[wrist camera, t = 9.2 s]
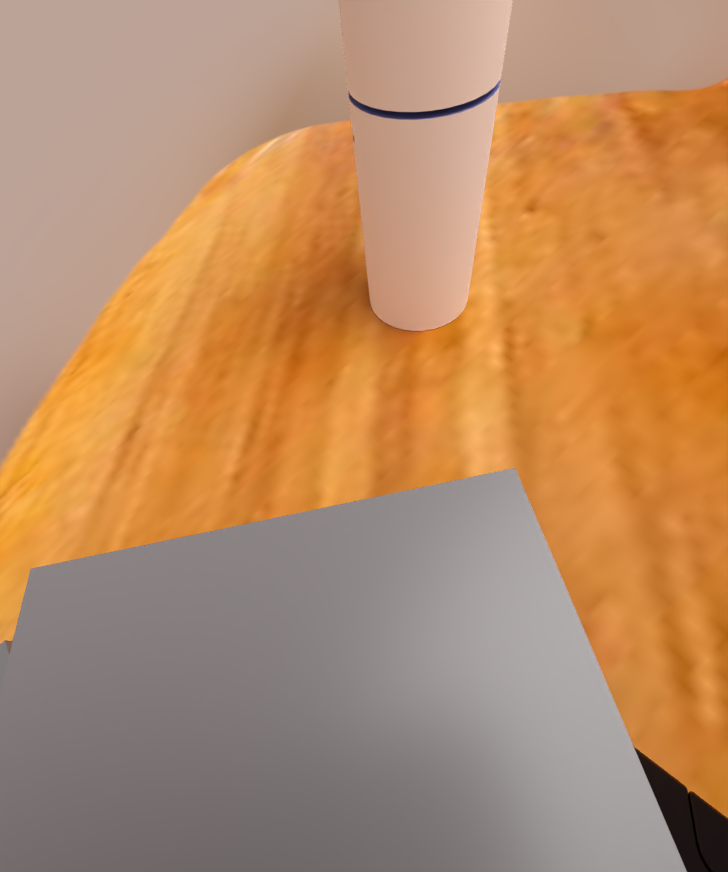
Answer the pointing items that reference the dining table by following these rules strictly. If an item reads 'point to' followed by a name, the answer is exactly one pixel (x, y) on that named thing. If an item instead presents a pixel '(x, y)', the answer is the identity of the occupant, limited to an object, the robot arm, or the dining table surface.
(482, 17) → the cylindrical container
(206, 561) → the block
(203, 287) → the dining table surface
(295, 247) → the dining table surface
